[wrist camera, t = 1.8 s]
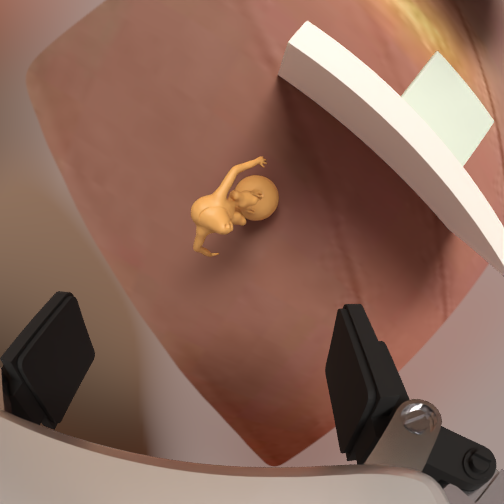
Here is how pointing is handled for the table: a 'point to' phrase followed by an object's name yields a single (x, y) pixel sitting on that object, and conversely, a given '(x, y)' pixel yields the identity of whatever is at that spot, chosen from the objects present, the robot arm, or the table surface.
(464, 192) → the screen
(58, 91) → the table surface
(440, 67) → the mat
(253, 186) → the figurine
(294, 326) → the table surface
